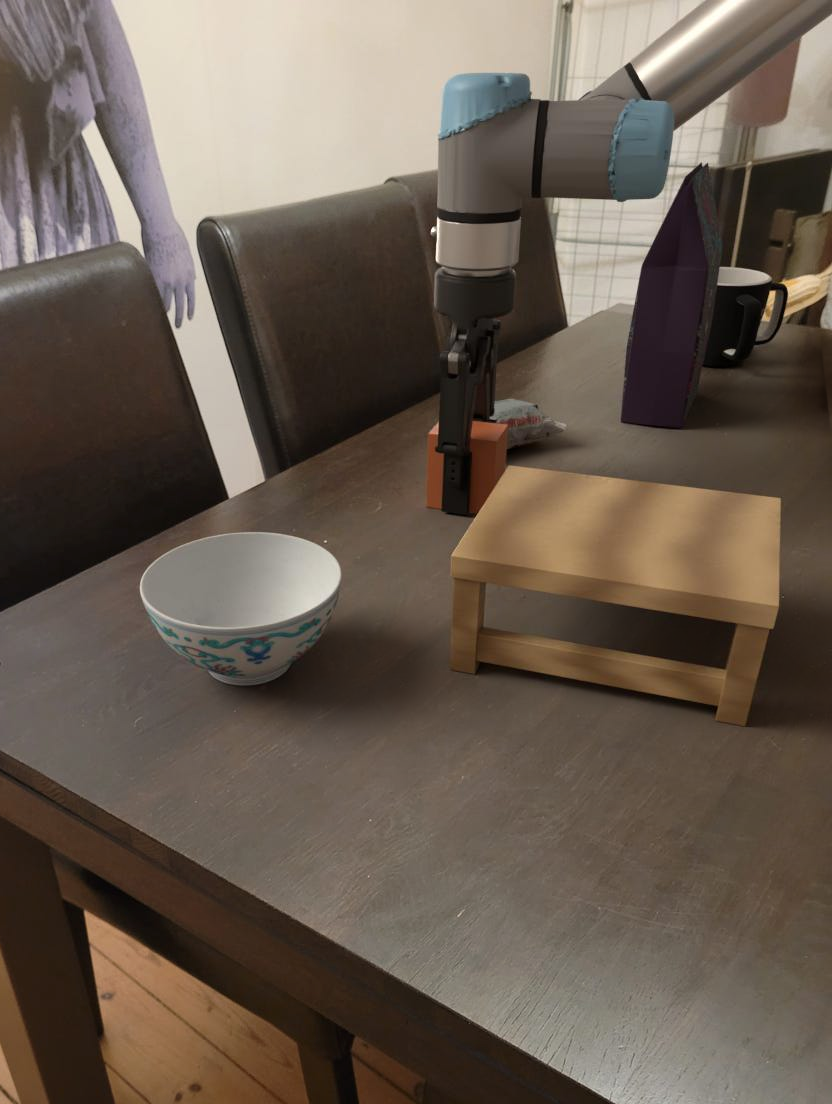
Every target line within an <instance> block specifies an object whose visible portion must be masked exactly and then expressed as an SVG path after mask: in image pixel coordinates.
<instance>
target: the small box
mask: <svg viewBox="0 0 832 1104" xmlns="http://www.w3.org/2000/svg"><path fill="white" fill-rule="evenodd" d="M438 428H439V421H437V423H436V424H435V425H434V426H433V427H432V428H431V430H429V432H428V433H427V461H426V462H427V463H426V465H427V466H426V500H425V501H426V504H425V505H426V508H431V509H439V510H441V509H442V485H443V461H444V454H441V453H438V452H435V446H437V445H438ZM507 436H508V425H507V424H497V423H488V422H479V421H473V423H472V431H471V440H470V452H472V467H471V484H470V501H469V513H468V514H475V515H478V513H479V511H480V510H481V508H482V507H483V505H484V504H485V502H486V500H487V499H488V497H489V496H490V494H491V493H492V491H493V489H494V488H495V486H496V485H497V483H498V482H499V480H500V478H501V477H502V475H503V474H504V472H505V471H506V466H507V465H506V463H507V450H508V449H507Z"/></svg>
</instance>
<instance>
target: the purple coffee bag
mask: <svg viewBox="0 0 832 1104" xmlns="http://www.w3.org/2000/svg"><path fill="white" fill-rule="evenodd" d="M722 252H723V241H722V235H721V229H720V224H719V218H718V213H717V207H716V201H715V195H714V189H713V184H712V178H711V173H710V166H709V162H706V163H705V164H704V165H703V162H700V163H699V164H697V166H695V167H694V168H693V169H692V170H691V171H690V172H689V173H687V175H685V176H684V179H683V181H682V182H681V184H680V187H678V190H677V193H676V195H675V196H674V198H673V200H672V203H671V205H670V207H669V209H668V211H667V213H666V215H665V217H664V219H663V221H662V223H661V225H660V227H659V229H658V230H657V233H656V235H655V237H654V239H653V241H652V244H651V245H650V248H649V250H648V251H647V254H646V255H645V257H644V259H643V261H642V263H641V267H640V273H639V277H638V284H637V288H636V294H635V300H634V305H633V310H632V315H631V320H630V327H629V332H628V338H627V343H626V350H625V364H624V374H623V385H622V387H623V388H622V399H621V412H620V422H621V423H627V424H636V425H645V426H650V427H651V426H652V427H653V426H654V427H658V428H659V427H660V428H669V429H677V430H681V429H682V428H683V425H684V424H685V421H686V419H687V417H688V413H689V411H690V409H691V407H692V404H693V402H694V399H695V397H696V395H697V392H698V390H699V389H698V388H699V384H700V381H701V380H700V379H701V375H702V371H703V367H704V365H703V362H704V357H705V352H706V348H707V343H708V339H709V334H710V329H711V325H712V319H713V311H714V304H715V297H716V290H717V282H718V275H719V268H720V267H721V259H722V254H723V253H722Z"/></svg>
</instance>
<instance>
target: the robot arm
mask: <svg viewBox="0 0 832 1104" xmlns="http://www.w3.org/2000/svg"><path fill="white" fill-rule="evenodd" d="M830 16H832V0H703V1H702V2H701V3H700V4H698V5H697V6H696V7H695V8H693V9H692V10H691V11H690V12H688V13H687V14H686V15H685V16H683V17H682V18H680V20H678V21H677V22H676V23H675V24H673V25H672V26H671V27H670V28H669V29H667V30H666V31H664V32H663V33H662V34H661V35H660V36H659V37H657V38H656V39H655V40H653V42H651V43H650V44H648V45H647V46H646V47H645V48H644V49H642V50H641V51H640V52H639V53H637V54H636V55H634V57H632V58H631V59H630V60H629V62H627V63H626V64H624V65H623V66H622V67H621V68H619V69H618V70H616V71H615V72H614V73H613V74H611V75H610V76H608V78H606V79H605V80H604V81H603V82H601V83H600V84H599V85H598V86H597V87H595V88H594V89H593V90H589V91H587V92H586V93H585V94H583V95H582V96H581V97H579V98H578V99H577V100H575V99H573V100H549V99H541V98H533V92H532V89H531V85H532V83H531V82H532V81H531V79H530V77H529V75H527V74H526V73H522V72H468V73H467V72H465V73H458V74H455V75H452V76H450V77H449V78H448V79H447V81H446V82H445V84H444V85H443V88H442V95H441V108H440V109H441V110H440V121H439V122H440V123H439V132H438V134H437V140H438V144H437V145H438V146H437V147H438V149H437V196H436V197H437V204H436V205H437V208H436V217H437V218H436V226H433V227H432V228H431V231H430V235H431V236H432V237H433V238H435V239H436V244H435V245H436V246H435V248H436V249H435V262H436V263H437V264H438V265H439V266H440V267H439V268H438V269H437V270H436V271H435V272H434V286H433V287H434V290H433V308H434V310H435V311H436V312H437V313H439V314H440V315H442V316H447V317H448V318H450V319H451V320H452V323H453V324H452V327H451V333H450V332H448V334H447V338H446V346H445V349H446V350H441V352H440V354H439V365H440V367H439V368H440V389H439V390H440V391H439V408H438V409H439V411H438V422H439V428H438V445H437V446H435V452H438V453H441V454H444V461H443V485H442V509H440V510H441V511H440V512H443V513H450V514H456V515H457V514H458V515H464V516H468V514H470V513H469V501H470V484H471V467H472V452H470V440H471V431H472V423H473V421H479V422H488V423H497V420H493V419H490V417H492V416H493V415H494V412H495V409H494V404H495V401H496V384H497V370H498V369H497V368H498V367H497V366H498V352H499V339H500V333H501V332H500V331H501V328H502V324H501V320H500V319H498V318H502V317H505V316H507V315H509V314H511V313H512V311H513V310H514V308H515V299H516V298H515V297H516V287H517V273H516V272H515V270H514V269H513V268H512V267H514V266H515V265H517V263H519V257H520V256H519V255H520V240H521V239H520V238H521V224H522V203H523V198H532V199H541V198H548V199H573V200H575V199H576V200H577V199H579V200H603V201H604V200H607V201H616V202H617V203H624V202H626V201H630V200H632V201H633V200H653V199H655V198H657V197H658V196H659V195H660V194H661V193H662V192H663V190H664V188H665V186H666V181H667V178H668V177H667V176H668V173H669V166H670V160H671V155H672V147H673V141H674V140H673V139H674V132H675V131H676V130H678V129H679V128H681V126H683V125H684V124H686V123H687V122H689V121H690V120H692V119H693V118H694V117H695V116H696V115H698V114H700V112H702V111H703V110H705V109H706V108H707V107H709V106H710V105H711V104H713V103H714V102H716V101H717V100H718V99H720V98H721V97H722V96H724V95H725V94H726V93H728V92H729V91H731V90H732V89H733V88H735V87H736V86H737V85H738V84H740V83H742V81H743V80H745V79H747V78H748V77H749V76H751V75H752V74H753V73H755V72H756V71H757V70H759V69H760V68H761V67H763V66H764V65H766V64H767V63H768V62H770V61H771V60H773V59H774V58H775V57H777V56H778V55H779V54H780V53H782V52H783V51H784V50H786V49H787V48H789V47H790V46H791V45H793V44H794V43H795V42H797V41H798V40H799V39H801V38H802V37H803V36H805V35H806V34H807V33H809V32H810V31H811V30H813V29H814V28H815V27H817V26H818V25H820V24H821V23H822V22H824V21H825V20H826V19H828V18H829V17H830Z"/></svg>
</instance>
